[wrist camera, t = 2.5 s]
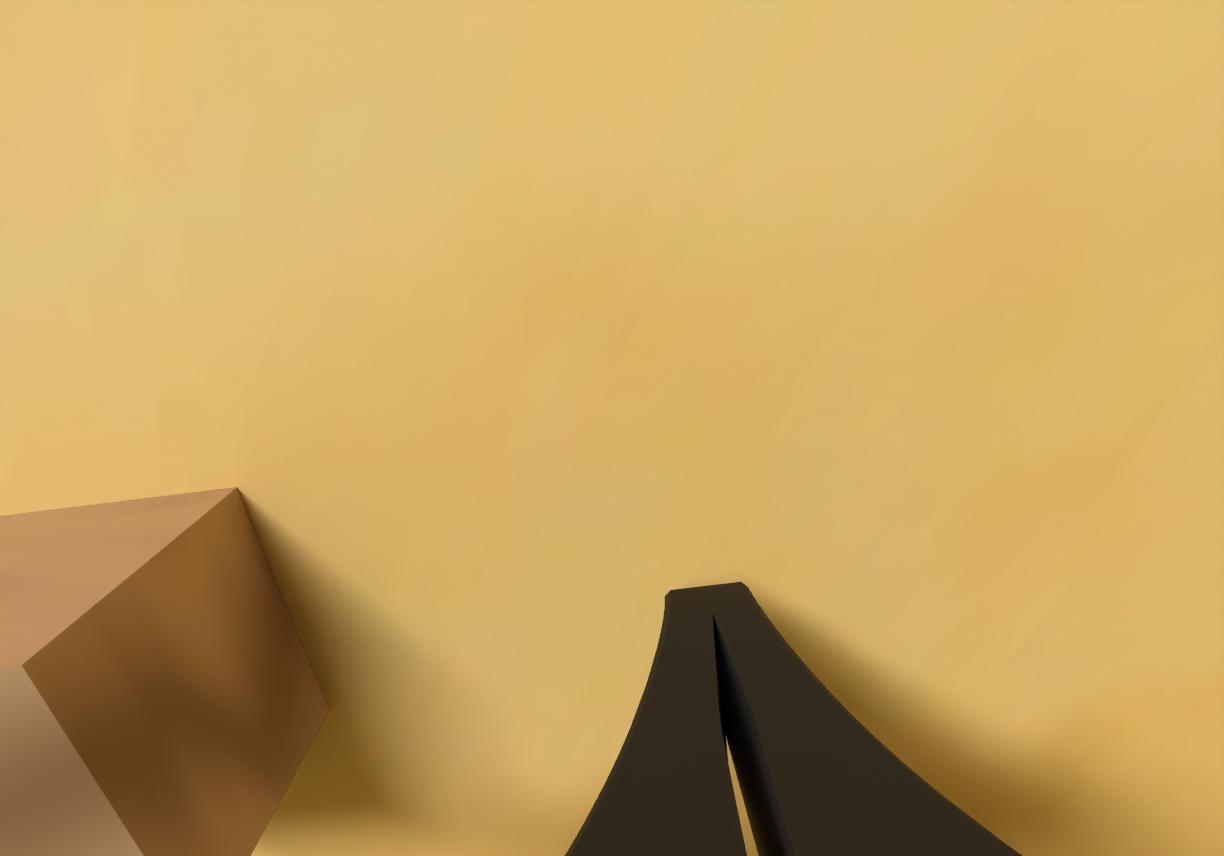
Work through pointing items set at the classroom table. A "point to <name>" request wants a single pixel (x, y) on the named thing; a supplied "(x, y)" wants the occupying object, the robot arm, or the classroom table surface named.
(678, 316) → the classroom table surface
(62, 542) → the walnut block
